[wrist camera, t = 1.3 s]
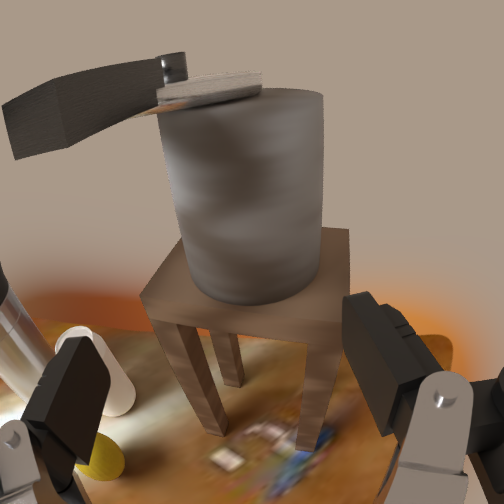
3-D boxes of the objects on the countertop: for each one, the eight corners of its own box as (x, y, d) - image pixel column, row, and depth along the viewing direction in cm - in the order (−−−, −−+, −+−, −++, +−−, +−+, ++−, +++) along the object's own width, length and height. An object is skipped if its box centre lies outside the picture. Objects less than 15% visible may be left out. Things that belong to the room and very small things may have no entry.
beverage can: (90, 413, 32) (41, 360, 25) (105, 376, 37) (65, 318, 30) (130, 424, 31) (84, 371, 24) (144, 384, 36) (107, 324, 29)
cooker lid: (-17, 176, 8) (-32, 119, 7) (149, 97, 19) (144, 64, 18) (166, 145, 6) (149, 31, 5) (276, 84, 17) (273, 45, 16)
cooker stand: (207, 433, 30) (87, 131, 12) (229, 372, 37) (174, 96, 19) (313, 452, 27) (375, 114, 9) (323, 385, 34) (356, 89, 16)
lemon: (119, 439, 29) (87, 410, 25) (144, 473, 26) (112, 451, 21) (86, 460, 26) (49, 435, 22) (108, 495, 23) (70, 477, 18)
